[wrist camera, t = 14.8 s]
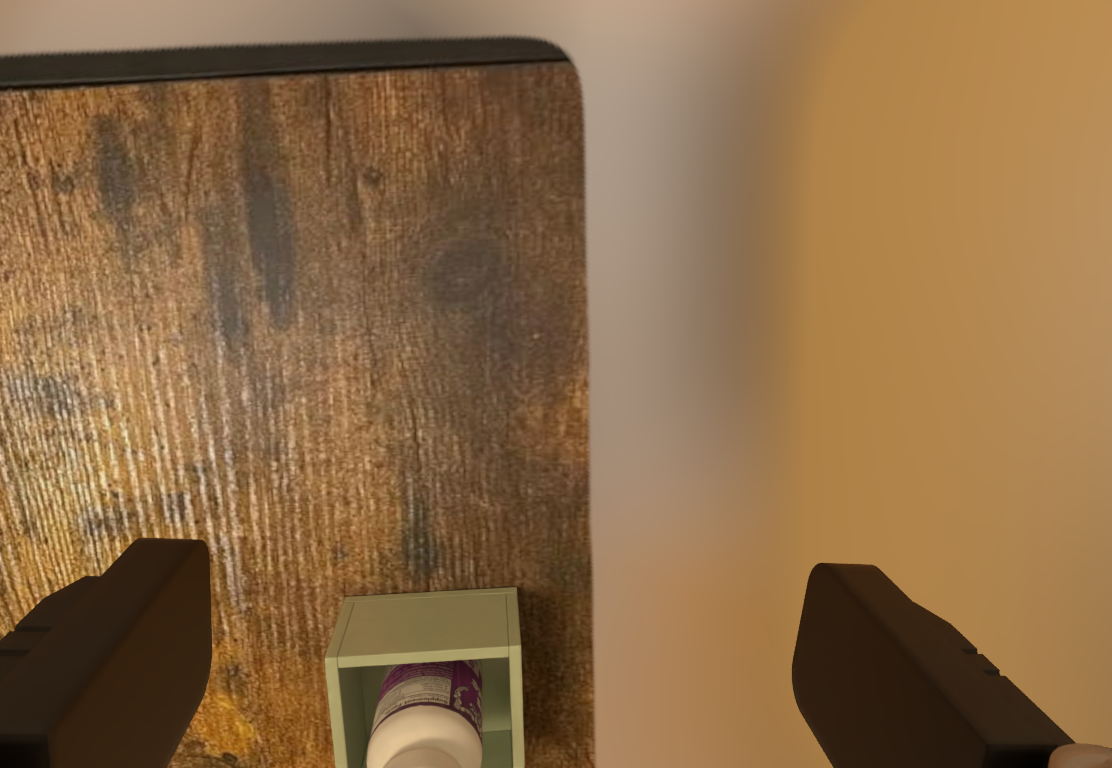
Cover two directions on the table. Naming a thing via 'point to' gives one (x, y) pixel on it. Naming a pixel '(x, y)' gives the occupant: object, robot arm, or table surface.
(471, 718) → the pill bottle
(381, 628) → the green open box
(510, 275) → the table surface
